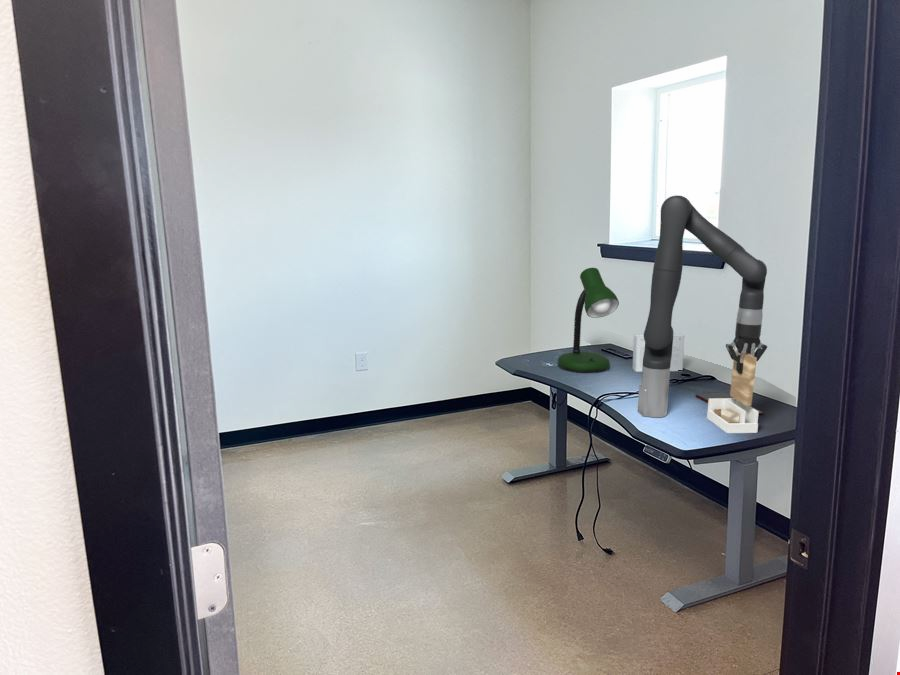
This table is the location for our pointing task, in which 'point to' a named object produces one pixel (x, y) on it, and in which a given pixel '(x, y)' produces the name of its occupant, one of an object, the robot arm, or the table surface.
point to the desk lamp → (596, 305)
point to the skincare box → (675, 359)
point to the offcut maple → (730, 415)
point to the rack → (747, 413)
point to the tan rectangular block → (743, 380)
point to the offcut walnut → (717, 412)
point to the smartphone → (708, 396)
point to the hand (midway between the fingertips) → (743, 373)
